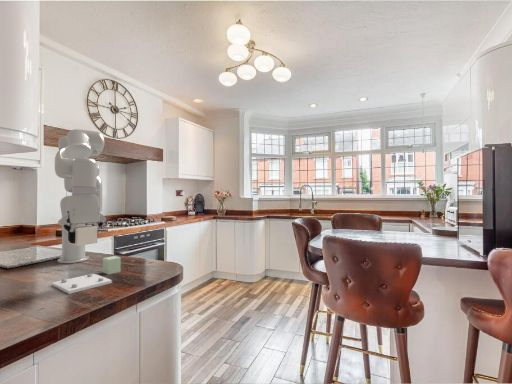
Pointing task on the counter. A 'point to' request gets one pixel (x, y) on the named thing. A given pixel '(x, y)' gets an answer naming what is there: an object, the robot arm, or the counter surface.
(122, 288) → the counter surface
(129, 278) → the counter surface
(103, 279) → the plate
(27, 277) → the counter surface
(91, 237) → the cream block
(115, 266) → the sage block
